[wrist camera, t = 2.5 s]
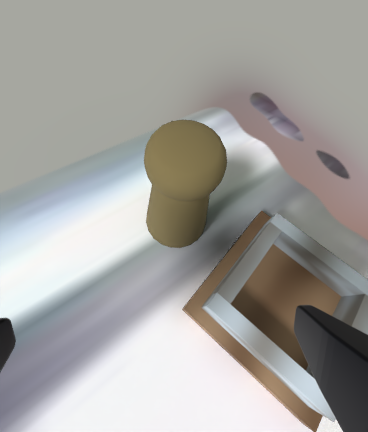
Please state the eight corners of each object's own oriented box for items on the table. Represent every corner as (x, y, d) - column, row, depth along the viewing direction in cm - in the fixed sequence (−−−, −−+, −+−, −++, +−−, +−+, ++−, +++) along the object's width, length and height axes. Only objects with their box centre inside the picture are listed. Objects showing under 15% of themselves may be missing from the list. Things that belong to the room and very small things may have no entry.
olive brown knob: (189, 259, 21) (215, 206, 11) (134, 229, 22) (111, 154, 12) (214, 209, 23) (255, 129, 13) (165, 184, 24) (168, 90, 14)
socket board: (359, 295, 21) (401, 291, 17) (302, 423, 16) (342, 453, 13) (255, 216, 23) (273, 198, 20) (182, 309, 19) (187, 307, 15)
